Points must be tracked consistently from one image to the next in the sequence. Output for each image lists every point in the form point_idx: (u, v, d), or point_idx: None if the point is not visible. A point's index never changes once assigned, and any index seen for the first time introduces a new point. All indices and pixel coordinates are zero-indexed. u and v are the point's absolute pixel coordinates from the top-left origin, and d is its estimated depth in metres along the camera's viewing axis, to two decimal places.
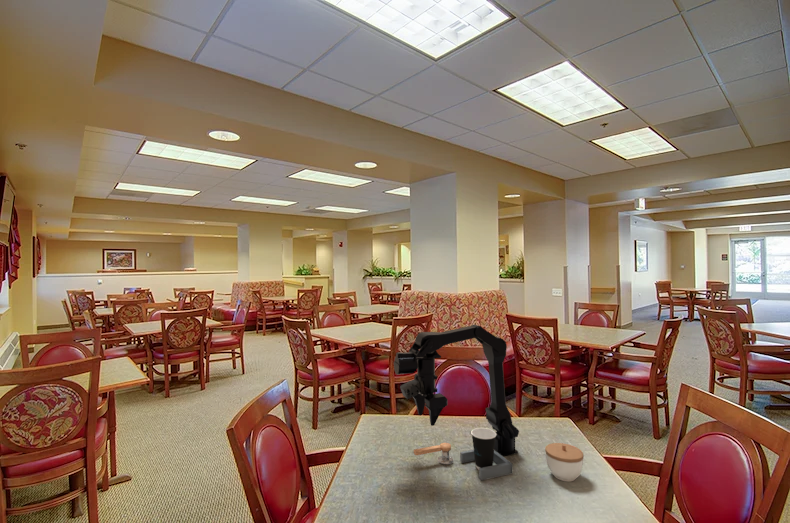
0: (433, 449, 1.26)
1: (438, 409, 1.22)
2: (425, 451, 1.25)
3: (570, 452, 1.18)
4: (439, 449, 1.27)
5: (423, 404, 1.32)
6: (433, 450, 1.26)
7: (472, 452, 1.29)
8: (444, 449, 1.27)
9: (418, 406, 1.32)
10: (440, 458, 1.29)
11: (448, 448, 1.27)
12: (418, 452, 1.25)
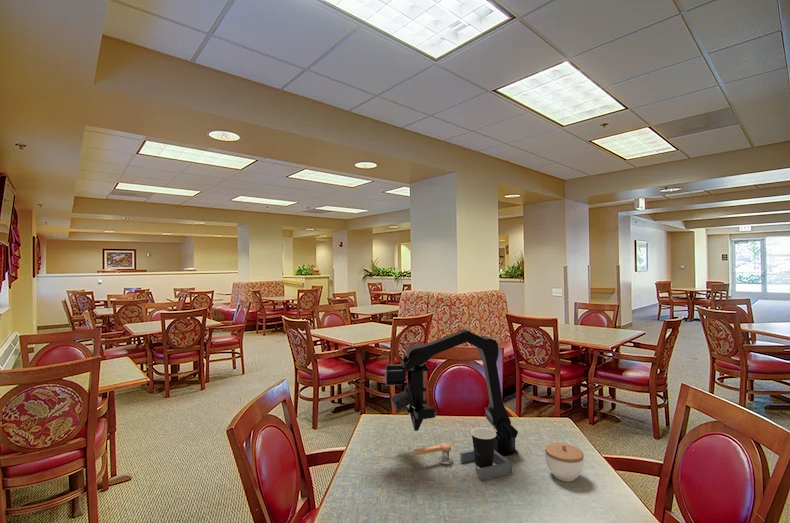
0: (433, 449, 1.26)
1: None
2: (425, 451, 1.25)
3: (570, 452, 1.18)
4: (439, 449, 1.27)
5: None
6: (433, 450, 1.26)
7: (472, 452, 1.29)
8: (444, 449, 1.27)
9: None
10: (440, 458, 1.29)
11: (448, 448, 1.27)
12: (418, 452, 1.25)
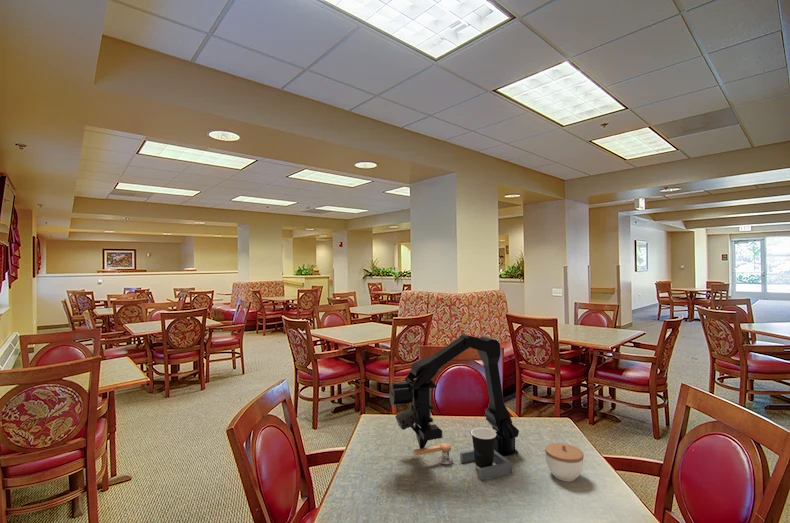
0: (433, 449, 1.26)
1: None
2: (425, 451, 1.25)
3: (570, 452, 1.18)
4: (439, 449, 1.27)
5: None
6: (433, 450, 1.26)
7: (472, 452, 1.29)
8: (444, 449, 1.27)
9: None
10: (440, 458, 1.29)
11: (448, 448, 1.27)
12: (418, 452, 1.25)
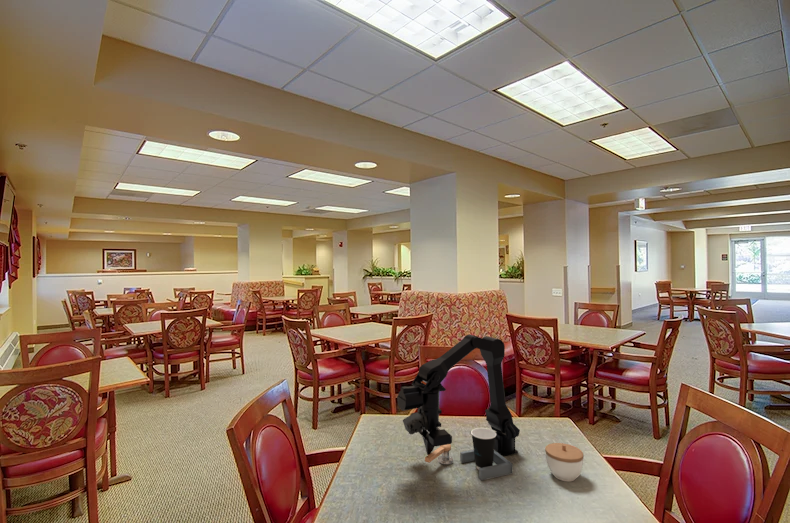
0: (439, 452, 1.25)
1: None
2: (435, 456, 1.22)
3: (570, 452, 1.18)
4: (443, 450, 1.26)
5: None
6: (440, 452, 1.25)
7: (472, 452, 1.29)
8: (447, 449, 1.27)
9: None
10: (440, 458, 1.29)
11: (450, 447, 1.28)
12: (431, 458, 1.20)
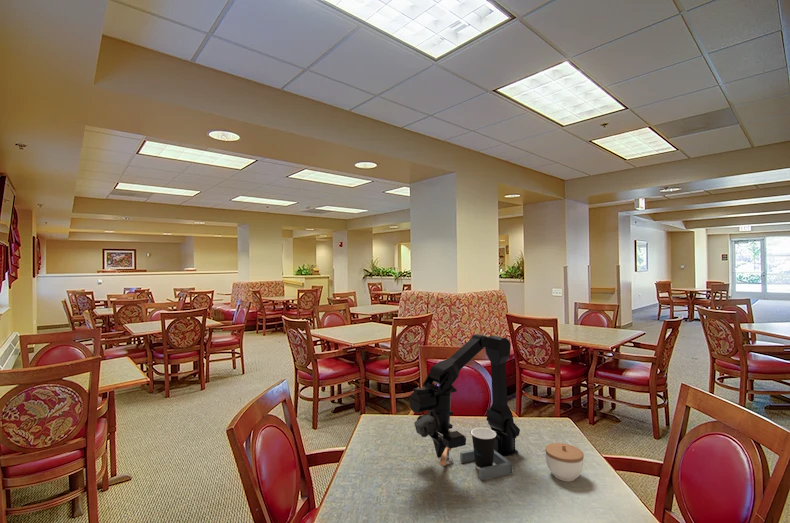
0: (446, 452, 1.24)
1: None
2: (446, 457, 1.21)
3: (570, 452, 1.18)
4: (447, 450, 1.26)
5: None
6: (446, 453, 1.24)
7: (472, 452, 1.29)
8: (449, 448, 1.27)
9: None
10: (440, 458, 1.29)
11: None
12: (445, 461, 1.19)
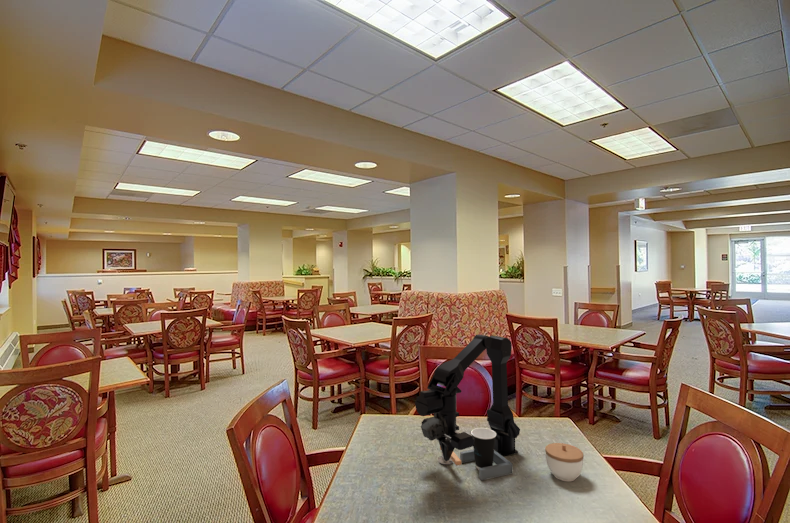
0: None
1: None
2: None
3: (570, 452, 1.18)
4: None
5: None
6: None
7: (472, 452, 1.29)
8: None
9: None
10: (440, 458, 1.29)
11: None
12: None
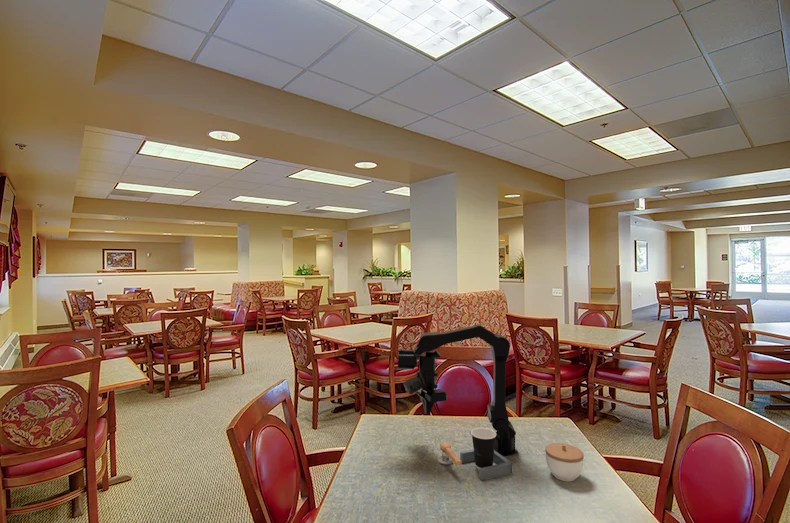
0: None
1: None
2: None
3: (570, 452, 1.18)
4: None
5: None
6: None
7: (472, 452, 1.29)
8: (450, 448, 1.28)
9: None
10: (440, 458, 1.29)
11: None
12: None
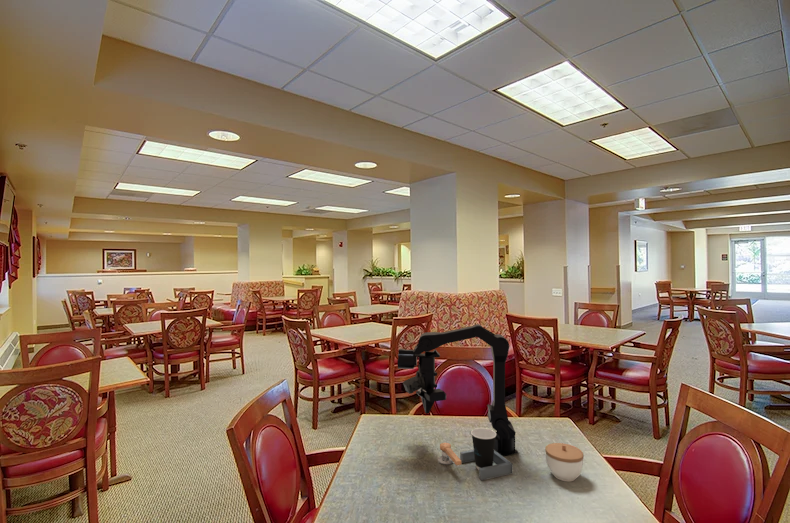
0: None
1: None
2: None
3: (570, 452, 1.18)
4: None
5: None
6: None
7: (472, 452, 1.29)
8: (450, 448, 1.28)
9: None
10: (440, 458, 1.29)
11: None
12: None
